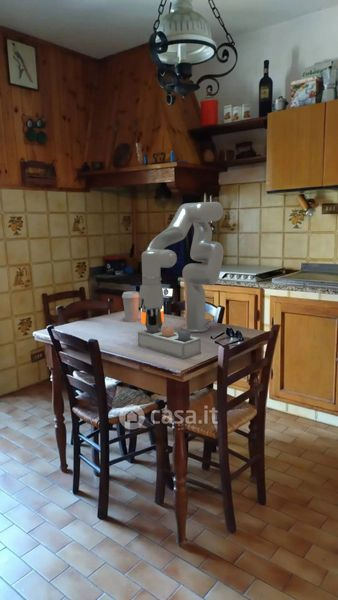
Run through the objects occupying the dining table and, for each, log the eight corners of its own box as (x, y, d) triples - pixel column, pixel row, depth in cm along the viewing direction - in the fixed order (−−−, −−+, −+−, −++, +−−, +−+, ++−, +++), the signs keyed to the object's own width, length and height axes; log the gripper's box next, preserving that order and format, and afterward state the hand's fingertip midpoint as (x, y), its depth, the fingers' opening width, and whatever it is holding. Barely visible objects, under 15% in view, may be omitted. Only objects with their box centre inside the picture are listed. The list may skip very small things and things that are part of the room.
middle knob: (168, 337, 176) (168, 325, 175) (176, 339, 173) (176, 327, 172) (159, 340, 173) (159, 328, 172) (168, 342, 170) (167, 330, 169)
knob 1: (153, 333, 183) (153, 322, 182) (161, 335, 179) (161, 324, 178) (145, 336, 179) (144, 324, 178) (152, 338, 176) (152, 326, 175)
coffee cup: (140, 322, 221) (139, 294, 218) (121, 322, 221) (120, 294, 218) (141, 318, 230) (140, 290, 227) (123, 318, 230) (122, 291, 227)
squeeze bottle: (149, 334, 196) (148, 296, 193) (142, 331, 203) (141, 294, 200) (165, 332, 200) (164, 294, 196) (157, 328, 207) (156, 292, 204)
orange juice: (141, 323, 219) (139, 284, 215) (153, 320, 225) (152, 282, 222) (152, 325, 214) (151, 286, 210) (164, 322, 220) (163, 283, 217)
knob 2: (184, 341, 170) (183, 329, 169) (193, 343, 167) (192, 331, 166) (175, 344, 167) (175, 331, 166) (184, 346, 163) (184, 334, 162)
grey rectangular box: (155, 340, 186) (155, 327, 185) (200, 353, 168) (200, 338, 167) (138, 345, 179) (137, 332, 178) (183, 359, 161) (182, 343, 160)
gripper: (158, 278, 183) (159, 320, 186) (131, 282, 172) (132, 326, 176) (170, 280, 177) (171, 323, 181) (143, 284, 167) (145, 329, 170)
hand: (152, 324), depth 178 cm, fingers closed
